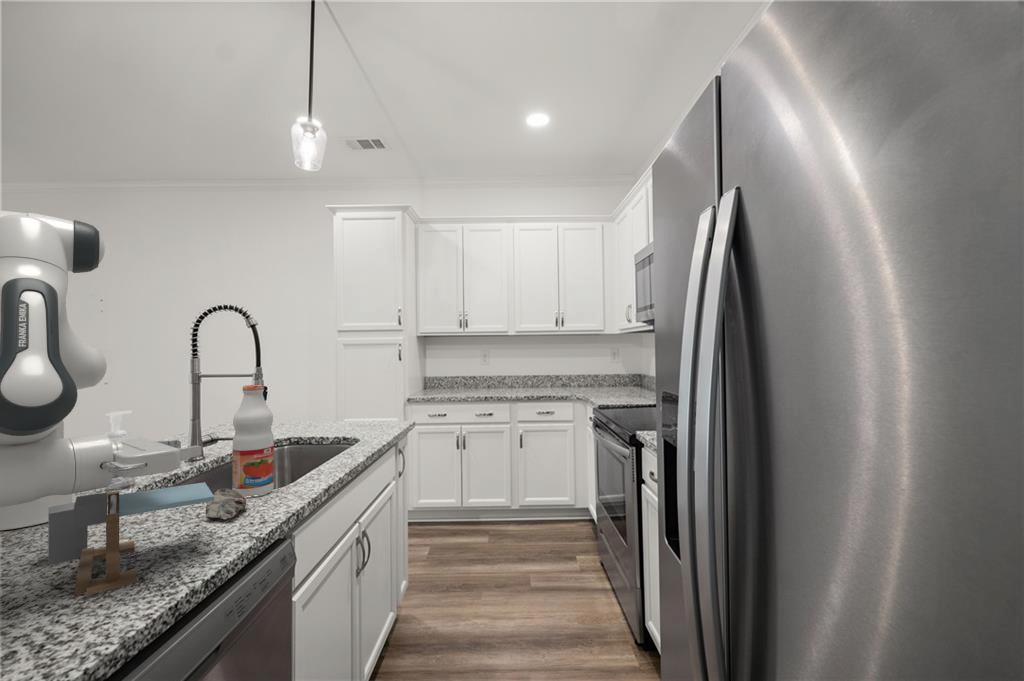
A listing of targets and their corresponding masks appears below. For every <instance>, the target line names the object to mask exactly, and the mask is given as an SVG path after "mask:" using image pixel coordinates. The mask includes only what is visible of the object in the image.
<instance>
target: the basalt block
mask: <svg viewBox="0 0 1024 681" xmlns="http://www.w3.org/2000/svg"><path fill="white" fill-rule="evenodd" d="M74 505H75V502H74V503H69V504H63V505H58V506H52V507H48V522H47V526H48V527H47V531H48V532H47V561H48V564H49V565H50V566H53V564H54V565H56V564H57V563H58V564H61V563H60V562H62V563H66V562H69V560H70V561H73V559H74V560H77V558H78V559H80V557H81V552H82V549H85V548H88V533H89V532H88V526H83V527H77V528H73V524H74ZM65 561H66V562H65ZM49 565H48V566H49Z"/></svg>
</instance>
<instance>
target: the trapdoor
mask: <svg viewBox="0 0 1024 681" xmlns="http://www.w3.org/2000/svg"><path fill="white" fill-rule="evenodd" d="M108 493H109V492H101V493H95V494H94V493H93V494H87V495H80V496H78V495H77V498H76V501H75V505H74V524H73V528H77V527H83V526H95V525H100V524H106V515H108ZM210 501H214V494H213V492H212V491H211V489H210V488H209V486H208V485H207V483H206V482H205V481H204V482H198V483H191V484H183V485H178V486H169V487H164V488H155V489H149V490H143V491H134V492H130V493H128V492H127V493H121V494H120V493H119V518H120V517H126V516H132V515H138V514H143V513H145V514H146V513H151V512H156V511H162V510H169V509H173V508H180V507H185V506H192V505H197V504H203V503H206V502H210ZM114 513H116V495H112V496H111V501H110V514H114Z"/></svg>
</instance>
